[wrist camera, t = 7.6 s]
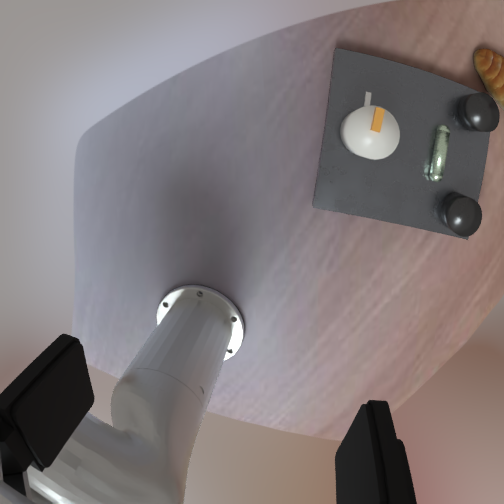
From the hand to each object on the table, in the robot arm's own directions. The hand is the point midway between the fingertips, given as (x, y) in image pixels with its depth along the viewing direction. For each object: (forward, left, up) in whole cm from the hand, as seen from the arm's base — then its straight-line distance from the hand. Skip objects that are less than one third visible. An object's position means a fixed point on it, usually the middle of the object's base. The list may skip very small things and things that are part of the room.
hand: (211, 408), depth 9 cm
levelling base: (+10, -14, -30) cm, 34 cm away
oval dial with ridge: (+10, -8, -28) cm, 30 cm away
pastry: (+22, -26, -30) cm, 46 cm away
